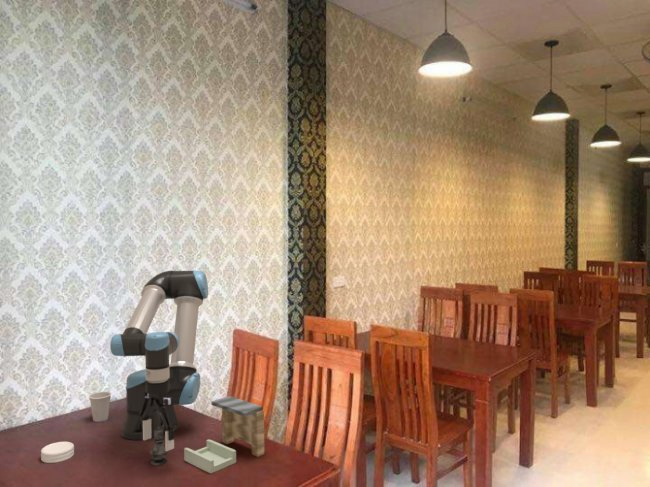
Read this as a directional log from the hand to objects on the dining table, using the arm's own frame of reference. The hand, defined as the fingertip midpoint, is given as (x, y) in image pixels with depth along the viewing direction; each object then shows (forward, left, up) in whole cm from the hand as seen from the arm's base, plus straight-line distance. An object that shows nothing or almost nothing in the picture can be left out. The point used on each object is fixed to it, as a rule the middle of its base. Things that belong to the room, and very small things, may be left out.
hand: (158, 444), depth 171 cm
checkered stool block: (+13, +23, -6) cm, 27 cm away
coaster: (-30, -20, -7) cm, 37 cm away
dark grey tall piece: (0, 0, -6) cm, 6 cm away
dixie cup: (-53, +6, -6) cm, 54 cm away
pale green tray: (+13, +11, -6) cm, 18 cm away
